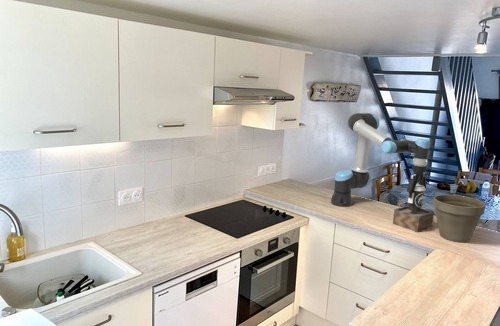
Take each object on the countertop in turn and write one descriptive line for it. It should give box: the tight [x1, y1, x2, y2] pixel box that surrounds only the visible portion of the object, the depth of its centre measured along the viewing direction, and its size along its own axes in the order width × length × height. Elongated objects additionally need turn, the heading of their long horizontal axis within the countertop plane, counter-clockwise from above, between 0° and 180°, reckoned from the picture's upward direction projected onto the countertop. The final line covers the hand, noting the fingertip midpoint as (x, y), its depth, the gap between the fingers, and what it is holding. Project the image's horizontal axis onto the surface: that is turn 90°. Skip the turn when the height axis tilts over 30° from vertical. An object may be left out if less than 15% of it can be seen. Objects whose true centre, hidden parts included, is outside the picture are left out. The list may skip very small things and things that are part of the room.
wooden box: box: [392, 205, 435, 233], centre depth 218 cm, size 16×16×9 cm
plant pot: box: [432, 194, 487, 243], centre depth 200 cm, size 25×25×22 cm
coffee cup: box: [407, 183, 427, 211], centre depth 215 cm, size 10×10×15 cm
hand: (415, 201), depth 216 cm, fingers closed on coffee cup, 9 cm apart
